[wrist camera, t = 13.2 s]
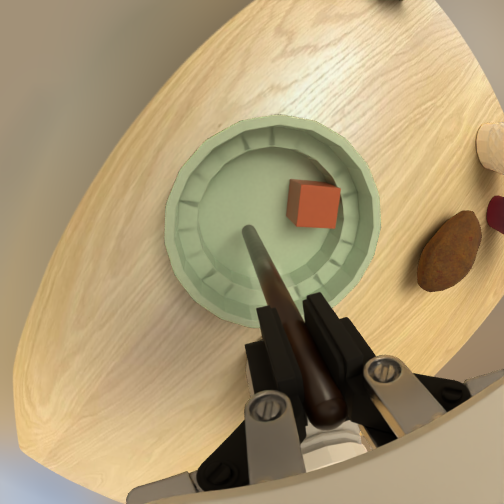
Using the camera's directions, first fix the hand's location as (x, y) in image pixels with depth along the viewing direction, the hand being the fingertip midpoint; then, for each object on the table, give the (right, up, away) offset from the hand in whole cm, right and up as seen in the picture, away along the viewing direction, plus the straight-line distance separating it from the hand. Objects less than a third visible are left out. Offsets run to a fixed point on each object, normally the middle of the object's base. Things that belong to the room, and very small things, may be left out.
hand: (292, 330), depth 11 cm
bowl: (0, +7, +17) cm, 18 cm away
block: (+3, +8, +16) cm, 18 cm away
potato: (+22, +4, +21) cm, 30 cm away
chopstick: (-2, +5, +14) cm, 15 cm away
